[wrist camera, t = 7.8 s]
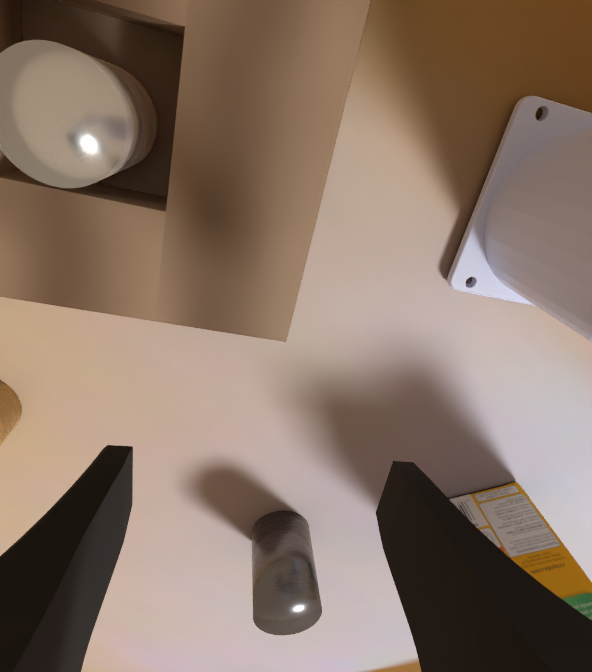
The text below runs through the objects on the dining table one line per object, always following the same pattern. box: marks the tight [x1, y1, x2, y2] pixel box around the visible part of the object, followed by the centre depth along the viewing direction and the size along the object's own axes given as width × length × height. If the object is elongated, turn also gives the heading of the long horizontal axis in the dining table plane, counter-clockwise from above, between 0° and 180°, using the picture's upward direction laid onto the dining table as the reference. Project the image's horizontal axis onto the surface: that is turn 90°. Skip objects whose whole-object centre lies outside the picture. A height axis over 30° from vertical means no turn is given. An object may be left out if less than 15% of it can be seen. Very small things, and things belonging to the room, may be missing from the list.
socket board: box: [0, 0, 371, 342], centre depth 15 cm, size 16×14×2 cm
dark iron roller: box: [252, 511, 322, 635], centre depth 24 cm, size 4×4×5 cm
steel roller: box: [0, 40, 158, 188], centre depth 14 cm, size 4×4×5 cm
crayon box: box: [449, 482, 592, 620], centre depth 22 cm, size 7×3×12 cm, turn 102°
